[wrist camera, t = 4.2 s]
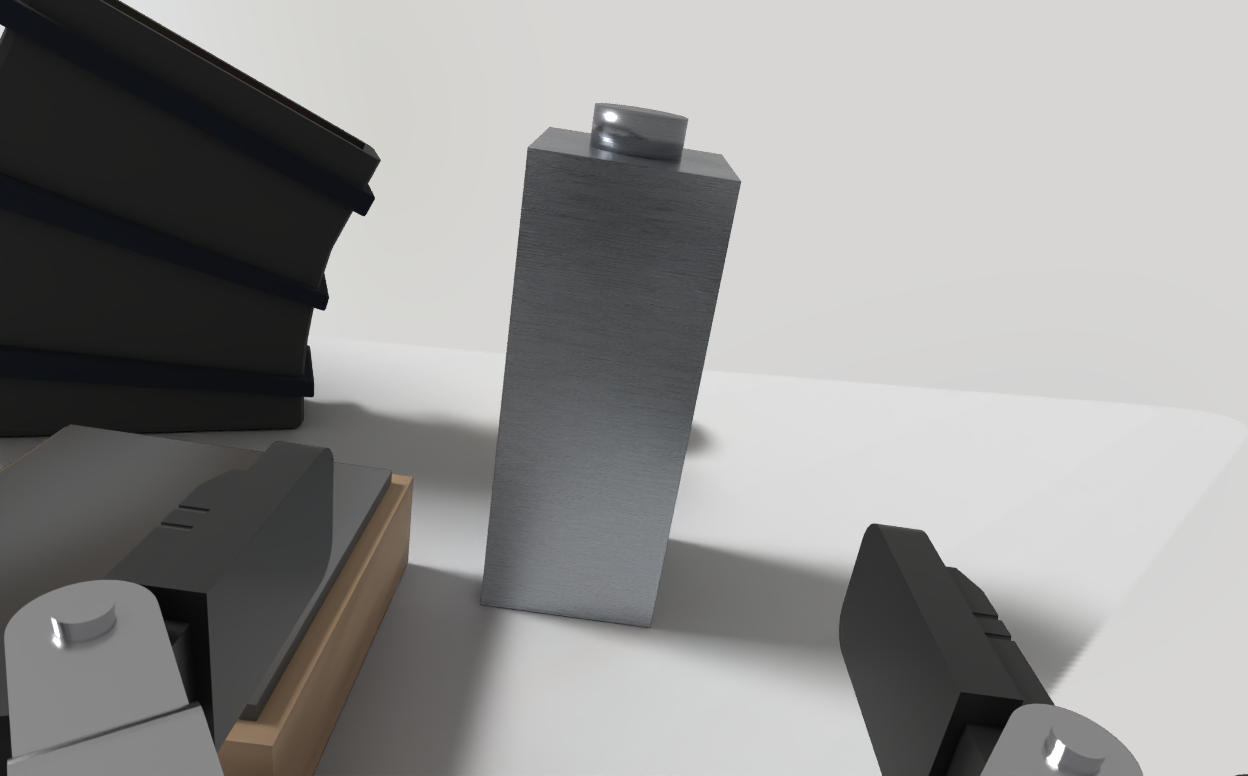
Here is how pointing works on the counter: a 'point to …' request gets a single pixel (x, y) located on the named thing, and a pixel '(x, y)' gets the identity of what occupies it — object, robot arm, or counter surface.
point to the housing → (603, 362)
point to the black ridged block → (157, 228)
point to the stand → (138, 502)
